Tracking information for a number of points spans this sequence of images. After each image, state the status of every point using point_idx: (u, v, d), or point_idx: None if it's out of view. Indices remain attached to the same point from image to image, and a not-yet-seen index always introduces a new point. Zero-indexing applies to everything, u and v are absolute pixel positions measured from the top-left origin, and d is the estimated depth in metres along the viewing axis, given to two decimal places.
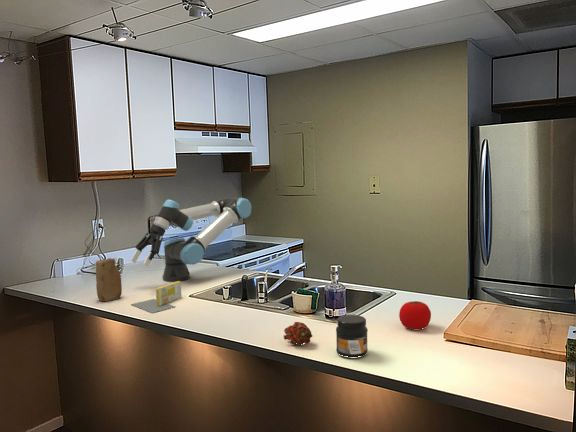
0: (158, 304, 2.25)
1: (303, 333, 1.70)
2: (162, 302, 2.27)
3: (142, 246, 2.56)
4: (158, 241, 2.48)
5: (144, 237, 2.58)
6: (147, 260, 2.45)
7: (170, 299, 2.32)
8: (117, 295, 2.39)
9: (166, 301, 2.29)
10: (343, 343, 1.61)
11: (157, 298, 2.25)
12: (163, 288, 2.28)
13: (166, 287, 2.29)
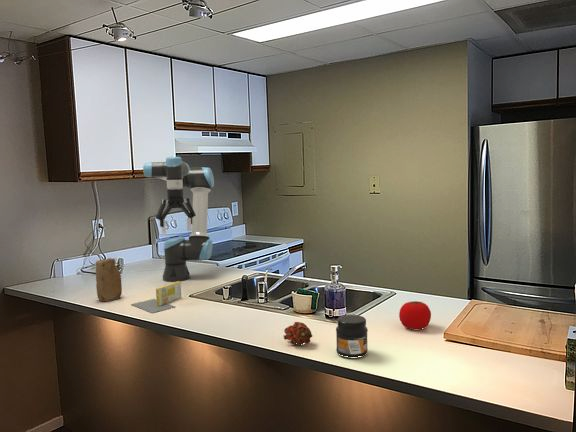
0: (158, 304, 2.25)
1: (303, 333, 1.70)
2: (162, 302, 2.27)
3: None
4: None
5: (164, 205, 2.33)
6: None
7: (170, 299, 2.32)
8: (117, 295, 2.39)
9: (166, 301, 2.29)
10: (343, 343, 1.61)
11: (157, 298, 2.25)
12: (163, 288, 2.28)
13: (166, 287, 2.29)
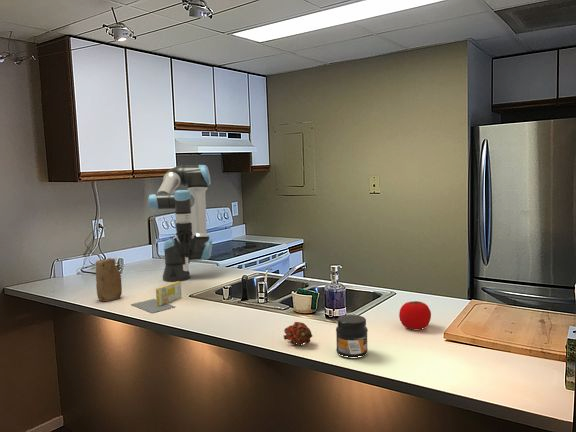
0: (158, 304, 2.25)
1: (303, 333, 1.70)
2: (162, 302, 2.27)
3: None
4: None
5: (177, 242, 2.33)
6: None
7: (170, 299, 2.32)
8: (117, 295, 2.39)
9: (166, 301, 2.29)
10: (343, 343, 1.61)
11: (157, 298, 2.25)
12: (163, 288, 2.28)
13: (166, 287, 2.29)
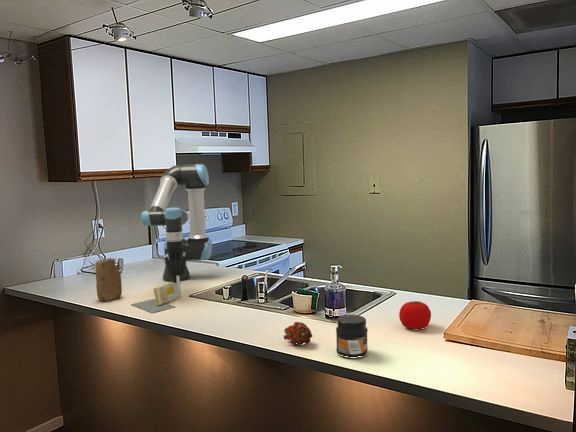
0: (158, 304, 2.25)
1: (303, 333, 1.70)
2: (162, 301, 2.27)
3: None
4: None
5: (168, 261, 2.30)
6: None
7: (170, 298, 2.32)
8: (117, 295, 2.39)
9: (166, 300, 2.29)
10: (343, 343, 1.61)
11: (156, 298, 2.26)
12: (161, 287, 2.28)
13: (164, 286, 2.30)
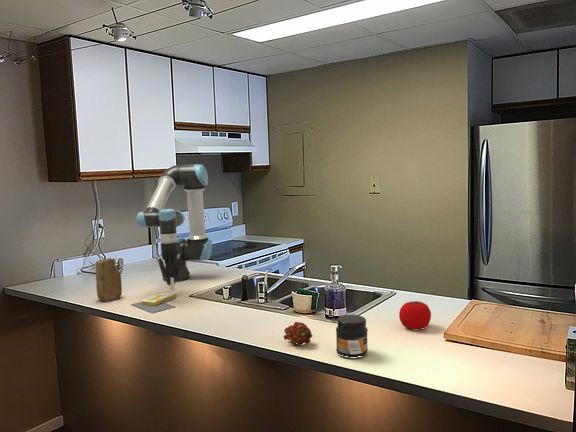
0: (153, 303, 2.26)
1: (303, 333, 1.70)
2: (155, 300, 2.28)
3: None
4: None
5: (162, 263, 2.28)
6: None
7: (163, 297, 2.33)
8: (117, 295, 2.39)
9: (160, 299, 2.30)
10: (343, 343, 1.61)
11: (149, 303, 2.27)
12: (147, 298, 2.31)
13: (150, 297, 2.33)
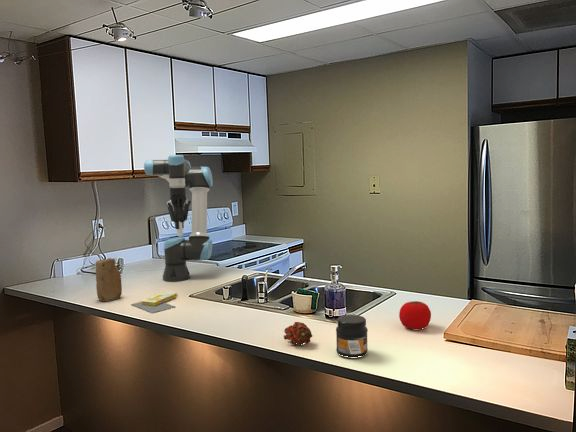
0: (153, 303, 2.26)
1: (303, 333, 1.70)
2: (155, 300, 2.28)
3: None
4: None
5: (171, 207, 2.34)
6: None
7: (163, 297, 2.33)
8: (117, 295, 2.39)
9: (160, 299, 2.30)
10: (343, 343, 1.61)
11: (149, 303, 2.27)
12: (147, 298, 2.31)
13: (150, 297, 2.33)
